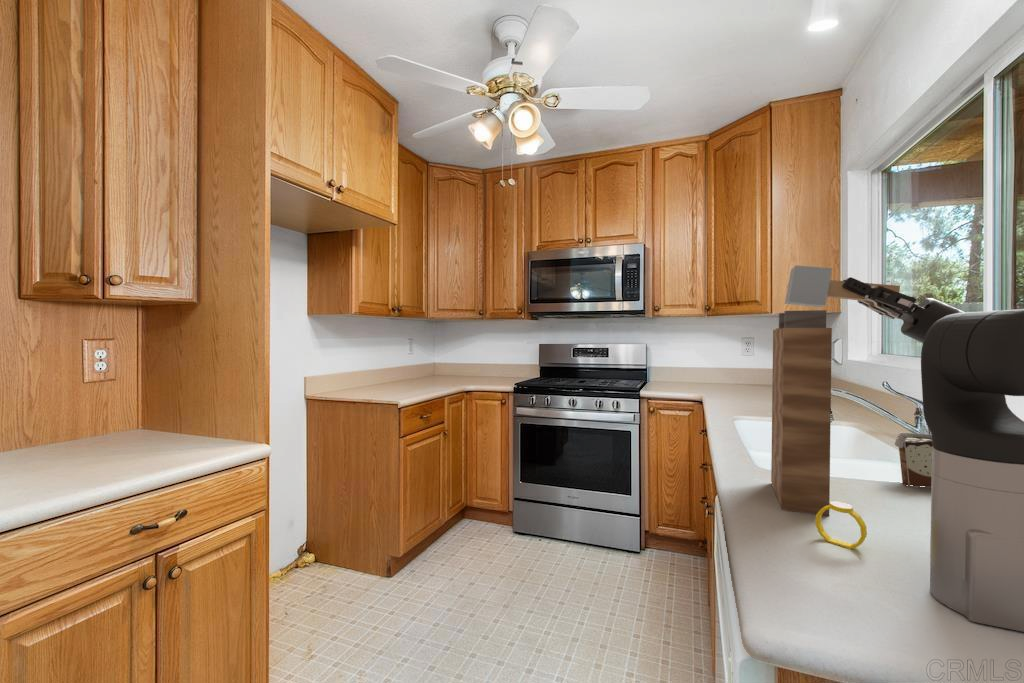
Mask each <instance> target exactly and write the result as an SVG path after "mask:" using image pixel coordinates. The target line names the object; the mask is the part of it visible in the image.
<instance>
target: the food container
mask: <svg viewBox="0 0 1024 683" xmlns="http://www.w3.org/2000/svg"><path fill="white" fill-rule="evenodd" d="M894 442H895V443H894V445H895V447H898V450H899V452H898V454H899V463H900V472H901V480H902V482H901V483H902V485H904V484H905V485H908V486H910V485H913V486H912V487H911V488H918V487H920V486H925V487H931V480H932V435H931V434H930V433H929V434H927V433H912V432H911V433H909V432H908V433H899V434H897V437H896V438H895V441H894ZM905 485H904V486H905Z"/></svg>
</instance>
